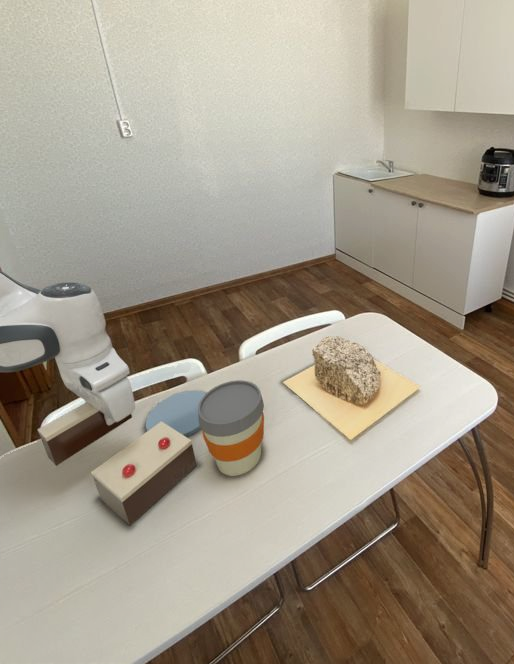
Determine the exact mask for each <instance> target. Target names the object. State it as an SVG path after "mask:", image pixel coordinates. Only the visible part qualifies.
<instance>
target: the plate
mask: <svg viewBox="0 0 514 664" xmlns="http://www.w3.org/2000/svg"><path fill="white" fill-rule="evenodd" d="M206 393H207V392H204V391H201V390H186V391H185V390H184V391H180V392H179V393H178V392H177V393H175V394H173V395H169V396H168V397H166V398H164V399H163V400H161V401H160V402H159V403H157V404H156V405H155V406H154V407H153V408H151V410H150V411H149V413H148V415H147V417H146V420H145V429H146V432H147V431H149V430H150V429H151V428H153V427H154V426H156V425H157V424H158V423H160V422H161V421H162V422H163V423H165V424H166V425H168V426H170V427H171V428H173V429H174V430H176V431H177V432H179V433H181V434H182V435H184V436H185V437H187V438H188V437H191V436H193V435H194V434H196V433H198V432H199V431H201V430H202V429H201V428H200V426H199V420H198V405H199V402H200V401H201V399H202V397H203V396H204V395H205V394H206Z"/></svg>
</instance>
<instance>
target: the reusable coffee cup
mask: <svg viewBox="0 0 514 664" xmlns="http://www.w3.org/2000/svg"><path fill="white" fill-rule="evenodd" d="M205 393H206V394H205V395H204V396H203V397H202V399H201V401H200V402H199V405H198V420H199V426H200V428H201V429H200V430H201V431H202V437H203V440H204V442H205V444H206V447H207V449H208V452H209V454H210V455H211V457H212V458H214V460H215V464H216V465H217V468H218V470H219V471H220V473H222V474H224V475H225V476H229V477H237V476H241V475H244V474H246V473H247V472H249V471H251V470H252V469H253V468H254V467H256V465H257V464H258V463H259V461H260V460H261V456H262V442H263V440H264V431H265V414H264V408H265V405H264V404H265V403H264V399H263V395H262V392H261V389H260V387H258V385H257V384H255V383H254V382H252V381H250V380H249V381H248V380H243V379H242V380H240V379H238V380H230V381H226V382H223V383H221V384H218V385H216V386H214V387H213V388H211V389H209V390H208V391H207V392H205Z"/></svg>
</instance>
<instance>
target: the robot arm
mask: <svg viewBox="0 0 514 664" xmlns="http://www.w3.org/2000/svg"><path fill="white" fill-rule="evenodd" d="M106 323H107V322H106V318H105V314H104V311H103V307H102V306H101V303H100V299H99V298H98V296H97V294H96V293H95V291H94V289H92V288H91V287H90V286H89V285H87V284H84V283H81V282H74V281H63V282H57V283H54V284H50V285H46V286H45V287H43V288H42V289H40V288H39V289H38V288H37V287H36V288H35V287H33V286H29V285H27V284H25V283H22V282H20V281H18V280H17V279H14V278H13V277H11V276H10V275H8V273H6V272H5V271H3V270H1V269H0V373H14V372H15V373H16V372H20V371H23V370H26V369H29V368H32V367H36V366H38V365H41V364H43V363H45V362H48V361H50V360H52V359H55V362H56V365H57V368H58V371H59V375H60V378H61V380H62V382H63V384H64V387H66V388H67V389H68V390H69V391H71V392H72V393H73V394H75V395H76V396H77V397H79V398H81V399H82V400H83V401H84V403H86V402H88V403H89V404H91V405H92V406H93V407H95V408H96V409H98V410H99V411H100V412H102V413H103V414H104V416H103V420H104V422H105V423H106V424H107V425H111V424H113V423H114V422H119V421H121V420H122V419H124V418H125V417H127V416H128V415H130V414H131V415H132V414H133V413H134V411H135V409H136V402H135V397H134V391H133V388H132V385H131V382H130V379H129V378H128V377H127V376H128V375H130V371H131V370H130V368H129V366H128V364H127V363H126V361H124V360H123V359H122V358H121V356H120V355H118V353H117V351H116V349H115V347H113V344H112V340H111V337H110V336H109V334H108V333H107V331H106V325H107V324H106Z"/></svg>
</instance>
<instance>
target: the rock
mask: <svg viewBox="0 0 514 664" xmlns="http://www.w3.org/2000/svg"><path fill="white" fill-rule="evenodd" d="M311 353H312V357H313V361H314V364H313V365H311V366H309V367H308V368H305V369H304V370H303V371H300V372H299V373H297V374H295V375H293V376H291V377H289V378H287V379H286V380H284V381H283V382H282V384H284V385H285V386H286V387H288V388H289V389H290V390H291V391H292V392H293V393H294V394H296V395H297V396H298V397H299V398H300V399H302V400H303V401H304V402H306V404H308V405H309V406H310V407H311V408H312V409H313V410H314V411H316V412H317V413H318V414H319V415H320V416H321V417H323V419H325V420H326V421H328V423H330V424H331V425H332V426H333V427H334V428H335V429H337V430H338V431H339V432H340V433H342V434H343V435H344V436H345V437H346V438H347V439H348V440H350V441H351V440H353V439H354V438H356V437H357V436H358V435H359V434H361V433H362V432H363V431H365V430H366V429H368V428H369V427H370V426H371V425H373V424H374V423H375V422H376V421H378V420H379V419H381V418H382V417H384V416H385V415H386V414H387V413H389V412H390V411H391V410H392V409H394V408H395V407H397V406H398V405H399V404H400V403H402V402H403V401H404V400H406V399H407V398H409V397H410V396H411V395H412V394H414V393H415V392H416V391H417V390H419V389H420V388H421V387H422V386H421V385H419V384H417V383H415V382H414V381H412V380H411V379H408V378H407V377H405V376H403V375H402V374H400V373H398V372H397V371H395V370H393V369H392V368H390V367H388V366H386V365H384V364H383V363H382V362H380V361H378V360H376V359H374V357H373V356H372V354H371V353H370V352H369V351H368V350H367V349H366V348H365V347H364V346H363V345H360V344H359V343H357V342H354V341H350V340H345V338H343V337H341V336H337V335H336V336H331V335H327V336H326V337H324V338H322V339H321V340H320V341H319V342H318V344H316V345H315V346H314V347H313V348H312V349H311Z"/></svg>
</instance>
